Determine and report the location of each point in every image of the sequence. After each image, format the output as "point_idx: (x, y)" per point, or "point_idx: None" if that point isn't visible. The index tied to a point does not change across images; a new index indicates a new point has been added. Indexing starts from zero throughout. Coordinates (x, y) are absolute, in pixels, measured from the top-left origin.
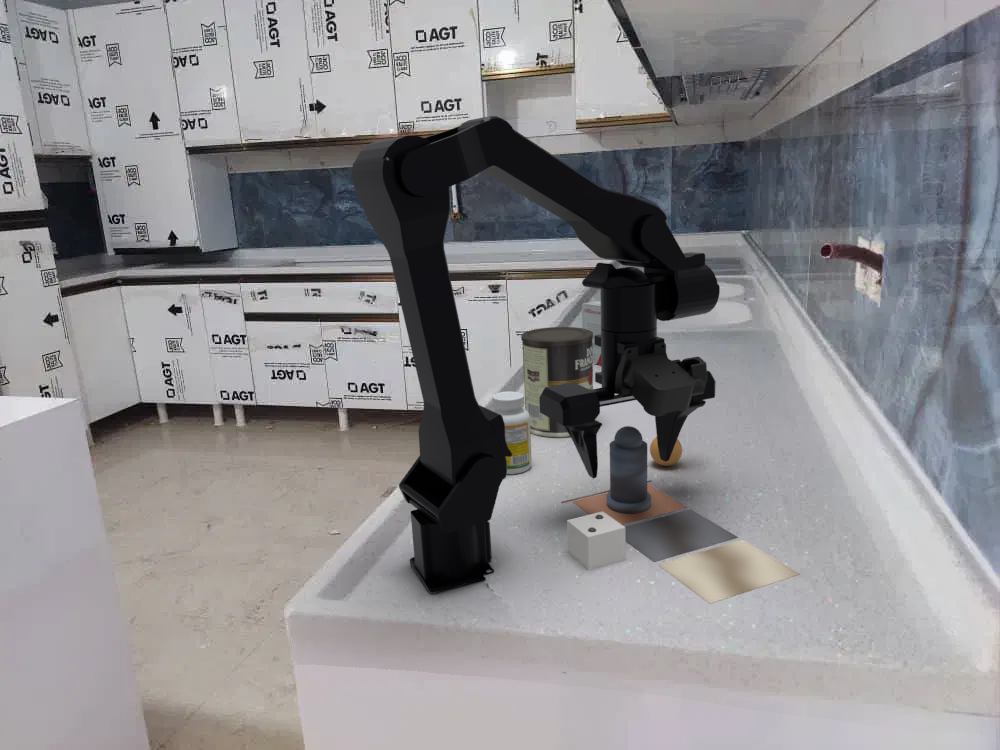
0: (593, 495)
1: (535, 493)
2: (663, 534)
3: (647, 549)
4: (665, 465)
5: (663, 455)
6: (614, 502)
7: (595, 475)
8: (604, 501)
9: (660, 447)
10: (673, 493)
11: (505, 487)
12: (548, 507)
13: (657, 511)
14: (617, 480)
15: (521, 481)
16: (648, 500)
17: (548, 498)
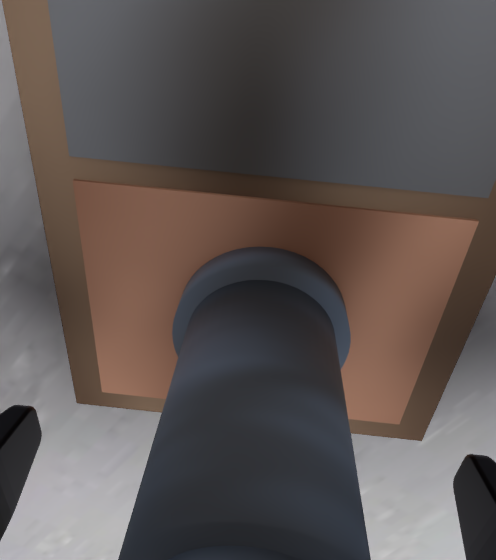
0: None
1: (409, 504)
2: (345, 17)
3: None
4: None
5: (24, 442)
6: (346, 333)
7: (488, 465)
8: None
9: (8, 496)
10: (46, 313)
11: (440, 553)
12: (453, 440)
13: (207, 219)
14: (345, 402)
15: (382, 554)
16: (220, 274)
17: (406, 473)
